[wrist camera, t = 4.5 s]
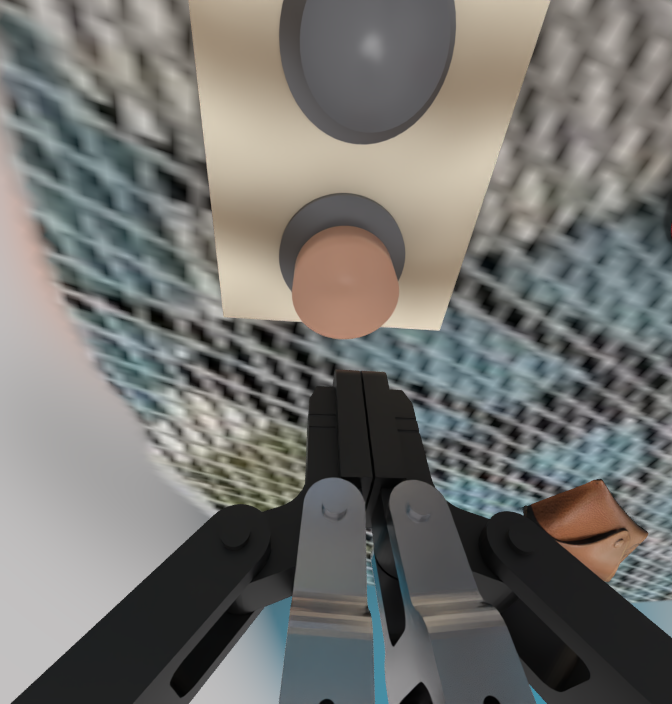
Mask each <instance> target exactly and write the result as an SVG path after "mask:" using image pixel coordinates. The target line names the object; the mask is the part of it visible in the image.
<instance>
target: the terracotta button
mask: <svg viewBox="0 0 672 704" xmlns="http://www.w3.org/2000/svg"><path fill="white" fill-rule="evenodd" d="M398 298H399V284H398V280H397V276H396V273H395V270H394V267H393V264H392V261H391V258H390V254H389V252H388V250H387V248H386V247H385V245H384V244H383V243H382V242H381V240H380V239H379V238H377V237H376V236H375V235H374V234H372V233H370V232H369V231H367V230H364V229H362V228H358V227H354V226H335V227H331V228H328V229H325V230H322V231H321V232H319V233H317V234H315V235H314V236H313V237H311V238H310V239H309V240H308V241H307V242H306V243H305V244H304V246H303V247H302V248H301V250H300V252H299V254H298V256H297V259H296V263H295V270H294V278H293V287H292V301H293V306H294V308H295V311H296V313H297V315H298V316H299V318H300V319H301V321H302V322H303V323H304V324H305V325H306V326H308V327H309V328H310V329H311V330H313V331H315V332H316V333H318V334H321V335H323V336H326V337H330V338H335V339H353V338H358V337H362V336H365V335H367V334H369V333H372V332H373V331H375V330H377V329H378V328H380V327H381V326H382V325H383V324H384V323H385V322H386V321H387V320H388V319H389V318H390V317H391V315H392V314H393V312H394V310H395V308H396V306H397V302H398Z"/></svg>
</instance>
